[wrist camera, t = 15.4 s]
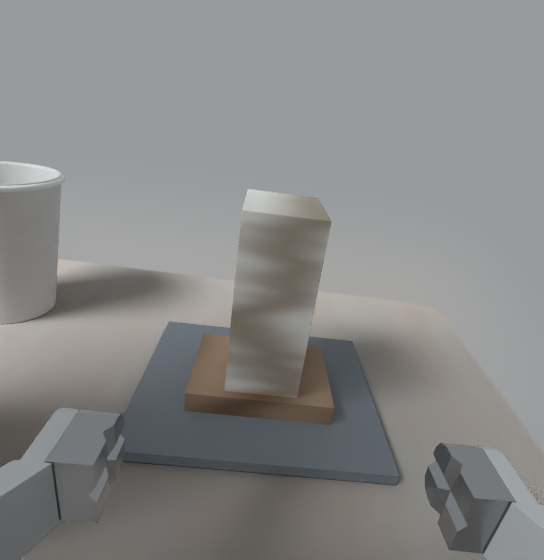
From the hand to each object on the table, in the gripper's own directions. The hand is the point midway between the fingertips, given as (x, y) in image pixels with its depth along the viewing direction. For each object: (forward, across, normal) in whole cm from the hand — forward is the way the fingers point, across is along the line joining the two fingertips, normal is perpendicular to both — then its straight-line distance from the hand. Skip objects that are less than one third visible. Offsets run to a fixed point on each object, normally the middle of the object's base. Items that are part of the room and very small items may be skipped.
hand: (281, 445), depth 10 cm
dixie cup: (+19, +19, +8) cm, 28 cm away
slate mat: (+12, 0, +8) cm, 14 cm away
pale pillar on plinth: (+12, 0, +8) cm, 14 cm away
